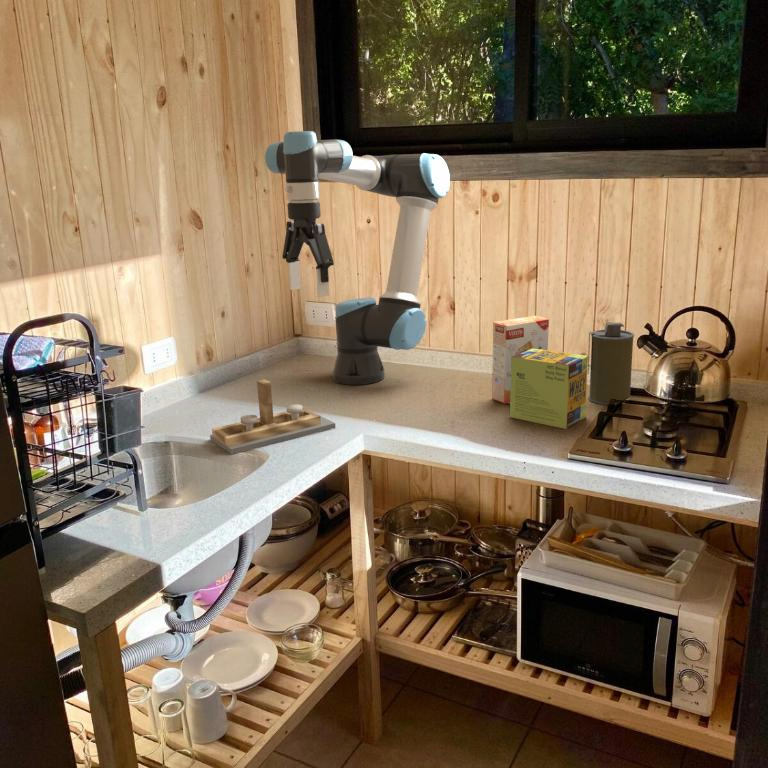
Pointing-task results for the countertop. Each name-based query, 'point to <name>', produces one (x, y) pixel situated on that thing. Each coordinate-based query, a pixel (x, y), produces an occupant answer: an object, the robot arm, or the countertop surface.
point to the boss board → (251, 419)
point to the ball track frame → (265, 421)
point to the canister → (610, 364)
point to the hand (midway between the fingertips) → (309, 292)
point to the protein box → (548, 387)
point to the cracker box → (514, 349)
